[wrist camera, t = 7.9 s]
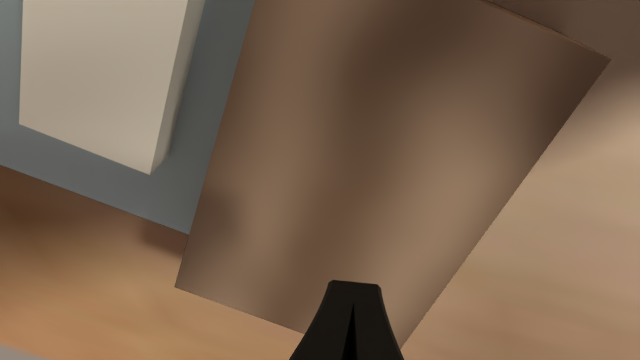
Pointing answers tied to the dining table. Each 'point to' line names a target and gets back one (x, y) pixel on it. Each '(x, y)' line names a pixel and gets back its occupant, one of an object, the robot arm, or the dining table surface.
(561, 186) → the dining table surface
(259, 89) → the brown flat block
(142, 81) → the cream rectangular block
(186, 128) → the mat
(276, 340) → the dining table surface
